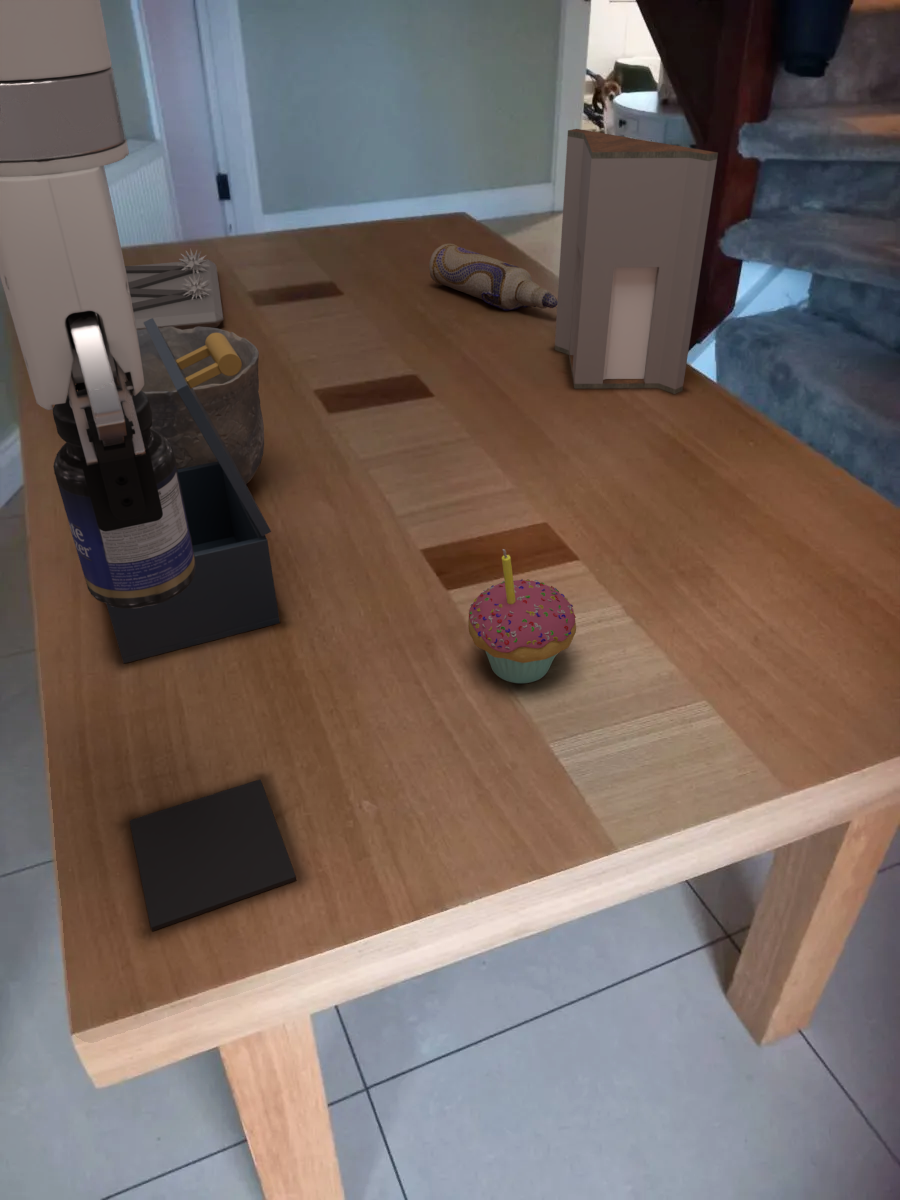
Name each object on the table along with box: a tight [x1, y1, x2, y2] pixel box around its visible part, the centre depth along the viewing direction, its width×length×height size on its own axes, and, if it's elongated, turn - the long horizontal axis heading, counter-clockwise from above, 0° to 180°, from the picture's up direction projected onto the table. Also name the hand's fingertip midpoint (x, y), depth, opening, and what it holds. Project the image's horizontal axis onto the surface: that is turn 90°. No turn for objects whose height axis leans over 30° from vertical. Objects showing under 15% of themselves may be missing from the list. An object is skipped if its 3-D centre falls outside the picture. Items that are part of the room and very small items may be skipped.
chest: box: [105, 461, 281, 664], centre depth 81 cm, size 13×15×9 cm
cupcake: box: [467, 548, 577, 684], centre depth 71 cm, size 9×8×12 cm
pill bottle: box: [52, 385, 196, 608], centre depth 50 cm, size 6×6×11 cm
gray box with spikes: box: [96, 247, 224, 330], centre depth 145 cm, size 30×22×7 cm
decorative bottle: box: [428, 243, 558, 311], centre depth 144 cm, size 26×8×7 cm, turn 40°
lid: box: [144, 318, 272, 536], centre depth 75 cm, size 14×15×5 cm
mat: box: [128, 779, 297, 932], centre depth 60 cm, size 9×9×1 cm
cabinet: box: [554, 128, 719, 395], centre depth 114 cm, size 21×10×28 cm, turn 42°
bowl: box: [137, 326, 265, 485], centre depth 94 cm, size 18×18×15 cm
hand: (121, 490), depth 49 cm, fingers closed on pill bottle, 6 cm apart
